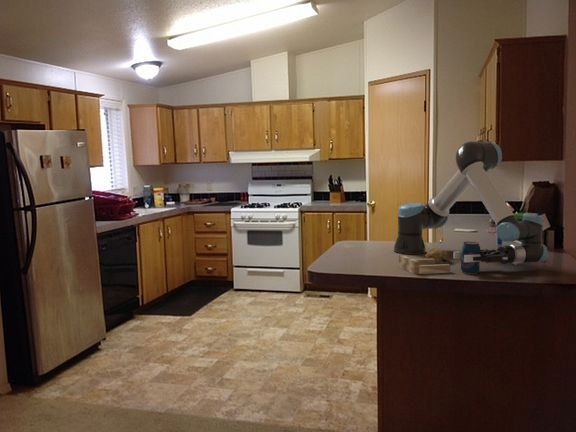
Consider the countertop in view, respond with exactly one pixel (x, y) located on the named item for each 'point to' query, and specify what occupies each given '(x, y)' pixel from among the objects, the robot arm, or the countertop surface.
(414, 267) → the u bracket
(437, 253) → the bread roll
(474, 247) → the soda can
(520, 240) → the white napkin holder
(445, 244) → the countertop surface
